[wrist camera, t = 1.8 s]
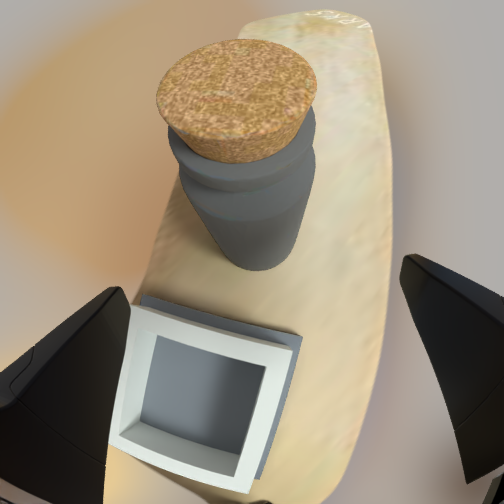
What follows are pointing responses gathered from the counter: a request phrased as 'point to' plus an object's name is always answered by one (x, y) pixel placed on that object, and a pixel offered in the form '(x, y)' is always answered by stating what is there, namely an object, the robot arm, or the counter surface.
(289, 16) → the counter surface
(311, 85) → the bottle
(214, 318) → the holder
